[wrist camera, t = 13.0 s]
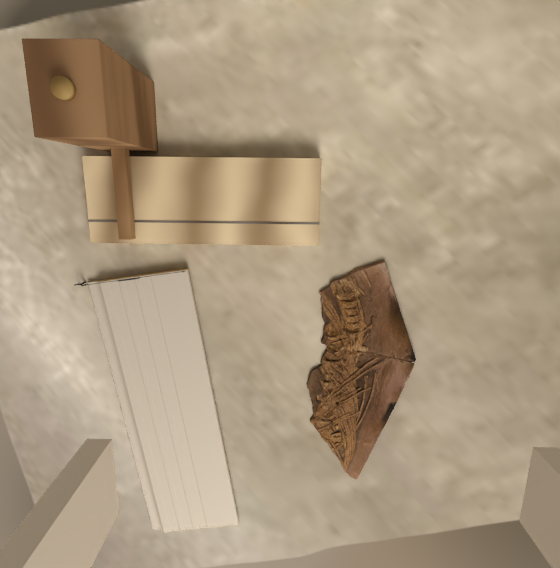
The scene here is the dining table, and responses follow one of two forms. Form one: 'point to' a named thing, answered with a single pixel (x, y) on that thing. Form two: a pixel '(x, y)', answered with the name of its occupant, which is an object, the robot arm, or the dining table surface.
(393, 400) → the wooden fragment
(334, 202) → the dining table surface
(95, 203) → the board
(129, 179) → the block
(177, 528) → the baseboard molding
